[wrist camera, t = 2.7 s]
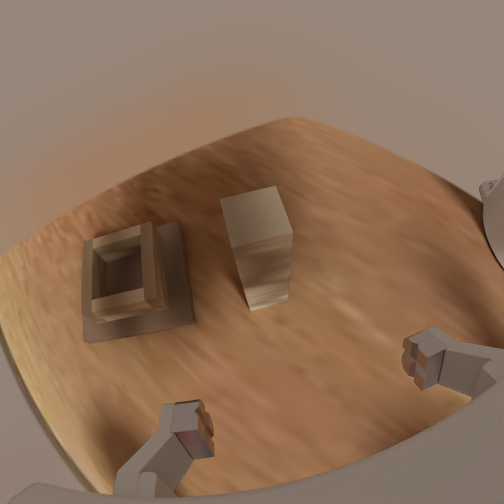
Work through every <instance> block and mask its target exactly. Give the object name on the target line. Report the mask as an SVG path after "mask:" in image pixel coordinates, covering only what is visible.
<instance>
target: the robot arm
mask: <svg viewBox="0 0 504 504" xmlns="http://www.w3.org/2000/svg"><path fill="white" fill-rule="evenodd" d="M479 191H480V195H481V198H482V201H483V223H484V228H485V232H486V236H487V238H488V241H489V244H490V246H491V248H492V250H493V252H494V254H495V256H496V257H497V259H498V261H499V262H500V264H501V265H502V267H503V268H504V174H503V175H502V176H501V178H500V179H499V180H495V181H489V182H484V183H483V184H482V185H481V186H480V187H479ZM403 348H404V349H405V351H404V353H403V355H402V364H403V368H404V370H405V372H406V373H407V374H408V375H409V376H412V377H414V383H415V384H416V385H417V386H418V387H419V388H420V390H421V391H423V390H425V389H427V388H429V387H431V386H433V385H435V384H437V383H438V384H440V385H442V386H445V387H448V388H450V389H453V390H455V391H458V392H460V393H463V394H466V395H468V396H471V397H472V399H471V402H469V403H468V404H466V405H465V406H463V407H462V408H460V409H459V410H457V411H456V412H454V413H453V414H451V415H449V416H448V417H446V418H444V419H443V420H441V421H439V422H438V423H436V424H434V425H432V426H431V427H429V428H427V429H425V430H423V431H422V432H420V433H418V434H416V435H414V436H412V437H410V438H408V439H406V440H404V441H402V442H400V443H398V444H396V445H394V446H392V447H389V448H387V449H385V450H383V451H380V452H378V453H376V454H373V455H371V456H369V457H366V458H364V459H361V460H358V461H356V462H353V463H350V464H348V465H345V466H342V467H339V468H336V469H333V470H330V471H327V472H324V473H321V474H317V475H314V476H310V477H307V478H303V479H299V480H295V481H291V482H287V483H283V484H279V485H274V486H269V487H264V488H259V489H253V490H247V491H241V492H234V493H226V494H217V495H207V496H193V497H178V496H177V495H176V494H175V493H174V492H173V491H174V490H175V488H176V487H177V485H178V484H179V482H180V481H181V479H182V478H183V476H184V475H185V473H186V472H187V470H188V469H189V467H190V466H191V464H192V463H193V460H195V459H202V458H209V457H215V456H214V442H213V441H212V439H211V438H212V437H213V436H214V428H213V423H212V420H211V417H210V415H209V413H207V412H205V405H204V403H203V402H202V400H200V399H199V400H192V401H184V402H176V403H170V404H164V405H163V406H162V408H161V414H160V419H159V425H158V431H157V435H153V436H152V437H151V438H150V439H149V440H148V441H147V442H146V443H145V444H144V445H143V446H142V447H141V448H140V449H139V450H138V451H137V452H136V453H135V454H134V455H133V456H132V457H131V458H130V459H129V460H128V461H127V462H126V463H125V464H124V465H123V466H122V467H121V468H120V469H119V470H118V472H117V476H116V480H115V485H114V489H113V494H112V495H108V494H99V493H92V492H85V491H79V490H72V489H68V488H63V487H58V486H54V485H50V484H46V483H41V482H37V483H34V484H32V485H30V486H28V487H27V488H25V489H24V490H23V491H21V492H20V493H18V494H17V495H15V496H14V497H13V498H12V499H10V501H9V502H8V504H504V349H500V348H494V347H488V346H482V345H477V344H471V343H466V342H460V341H459V342H455V341H454V340H453V339H452V338H451V337H449V336H448V335H447V334H446V333H444V332H443V331H442V330H441V329H440V328H438V327H437V326H435V325H432V326H430V327H428V328H426V329H424V330H422V331H420V332H418V333H416V334H414V335H412V336H409V337H407V338H405V339H404V341H403Z"/></svg>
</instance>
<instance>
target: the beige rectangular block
mask: <svg viewBox="0 0 504 504" xmlns="http://www.w3.org/2000/svg"><path fill="white" fill-rule="evenodd" d="M220 202H221V207H222V211H223V215H224V220H225V224H226V229H227V233H228V237H229V242H230V246H231V250H232V253H233V256H234V260H235V263H236V266H237V269H238V273H239V276H240V279H241V282H242V286H243V289H244V292H245V295H246V299H247V302H248V305H249V308H250V311H253V310H257V309H261V308H264V307H268V306H272V305H276V304H280V303H283V302H287V301H288V291H289V280H290V268H291V256H292V243H293V230H292V227H291V225H290V222H289V219H288V217H287V214H286V211H285V209H284V206H283V203H282V201H281V198H280V196H279V193H278V190H277V188H276V186H272V187H267V188H263V189H259V190H254V191H250V192H246V193H242V194H238V195H234V196H229V197H225V198H221V199H220Z"/></svg>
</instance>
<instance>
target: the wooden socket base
mask: <svg viewBox="0 0 504 504" xmlns="http://www.w3.org/2000/svg"><path fill="white" fill-rule="evenodd" d="M82 315H83V338H84V341H85V342H88V343H96V342H102V341H108V340H113V339H119V338H125V337H130V336H135V335H141V334H146V333H151V332H156V331H161V330H166V329H171V328H175V327H180V326H185V325H189V324H194V323H196V318H195V312H194V306H193V300H192V294H191V288H190V282H189V275H188V269H187V262H186V255H185V248H184V240H183V233H182V226H181V224H180V222H179V220H177V221H173V222H170V223H166V224H163V225H159V226H154V224H153V223H152V221H150V222H147V223H143V224H140V225H136V226H133V227H130V228H126V229H123V230H120V231H117V232H113V233H110V234H107V235H104V236H101V237H98V238H95V239H92V240H89V241H85V242H84V252H83V269H82Z"/></svg>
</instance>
